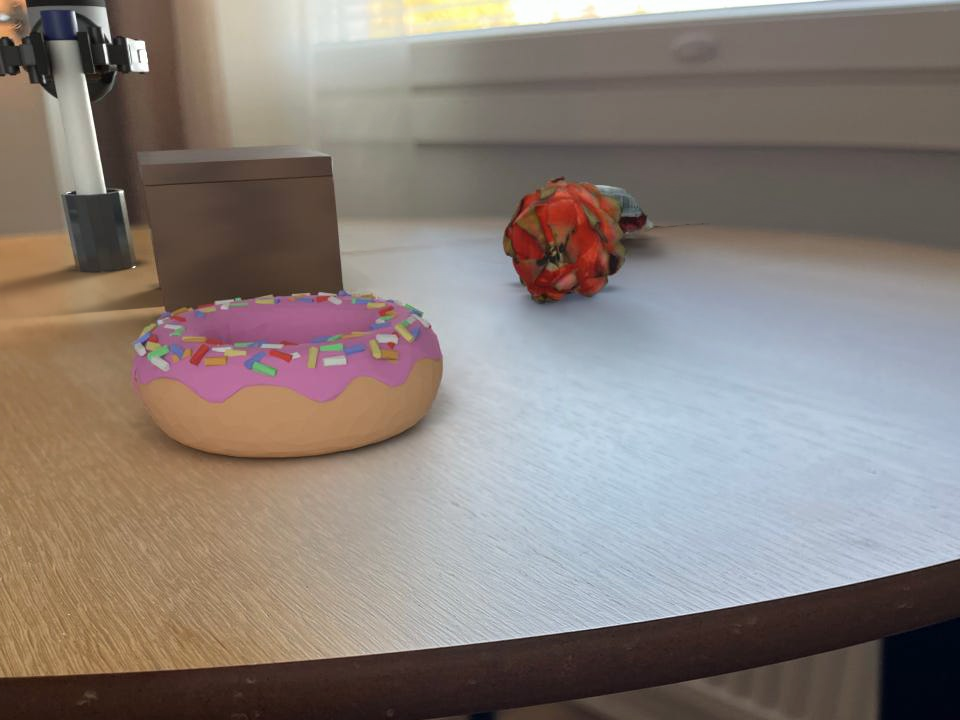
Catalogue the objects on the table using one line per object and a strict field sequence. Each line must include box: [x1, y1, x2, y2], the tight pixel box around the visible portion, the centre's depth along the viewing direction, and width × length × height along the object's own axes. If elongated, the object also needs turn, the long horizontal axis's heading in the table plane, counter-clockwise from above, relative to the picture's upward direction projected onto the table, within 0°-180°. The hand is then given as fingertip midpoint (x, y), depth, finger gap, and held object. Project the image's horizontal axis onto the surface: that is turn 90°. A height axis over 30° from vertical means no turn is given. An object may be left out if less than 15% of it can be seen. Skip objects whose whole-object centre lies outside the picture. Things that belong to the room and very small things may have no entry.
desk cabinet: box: [136, 144, 344, 313], centre depth 73 cm, size 12×14×10 cm
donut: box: [131, 290, 444, 459], centre depth 48 cm, size 14×14×5 cm
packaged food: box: [594, 184, 654, 241], centre depth 97 cm, size 9×12×5 cm
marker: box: [40, 10, 107, 195], centre depth 83 cm, size 3×3×14 cm
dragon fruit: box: [502, 175, 629, 304], centre depth 73 cm, size 8×8×12 cm
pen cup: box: [60, 188, 138, 273], centre depth 88 cm, size 5×5×6 cm
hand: (62, 53), depth 77 cm, fingers closed on marker, 3 cm apart
